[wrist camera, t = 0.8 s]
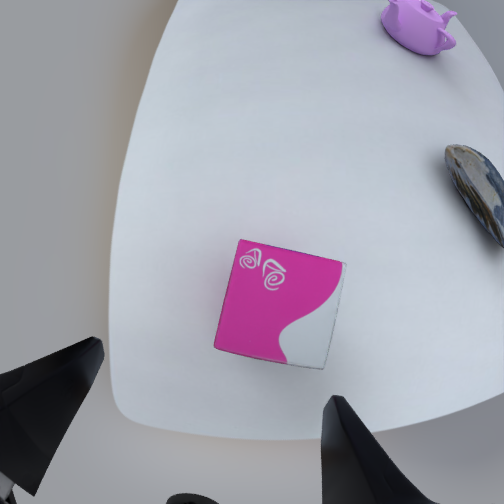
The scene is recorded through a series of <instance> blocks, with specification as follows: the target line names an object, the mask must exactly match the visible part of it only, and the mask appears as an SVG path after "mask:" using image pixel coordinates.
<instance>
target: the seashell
mask: <svg viewBox="0 0 504 504" xmlns="http://www.w3.org/2000/svg"><path fill="white" fill-rule="evenodd" d="M445 161H446V165H447V167H448V170H449V173H450V175H451V178H452V180H453V182H454V184H455V186H456V188H457V189H458V191H459V192H460V193H461V195H462V197H463V198H464V200H465V201H466V203H467V205H468V206H469V208H470V209H471V211H472V212H473V214H474V215H475V216H476V217H477V218H478V220H479V221H480V222H481V224H482V225H483V226H484V227H485V229H486V230H487V231H488V232H489V233H490V234H492V236H493V237H494V239H495V240H496V241H497V242H498V243H499V244H500V245H501V246H502V247H503V248H504V180H503V179H502V177H501V175H500V174H499V172H498V171H497V170H496V168H495V167H494V166H493V164H492V163H491V162H490V161H489V159H487V158H486V157H485V156H484V155H482V154H481V153H480V152H478V151H476V150H474V149H472V148H470V147H468V146H464V145H463V146H462V145H448V146H447V147H446V149H445Z"/></svg>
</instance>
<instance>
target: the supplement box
mask: <svg viewBox="0 0 504 504" xmlns="http://www.w3.org/2000/svg"><path fill="white" fill-rule="evenodd" d="M345 270H346V263H344V262H340V261H336V260H332V259H327V258H323V257H319V256H314V255H310V254H306V253H301V252H297V251H292V250H288V249H283V248H278V247H274V246H270V245H265V244H261V243H256V242H252V241H247V240H243V239H240V240H239V242H238V246H237V250H236V255H235V259H234V263H233V267H232V271H231V275H230V279H229V283H228V287H227V291H226V295H225V299H224V303H223V307H222V311H221V315H220V319H219V324H218V328H217V332H216V336H215V341H214V348H216V349H218V350H221V351H225V352H229V353H233V354H237V355H242V356H246V357H250V358H255V359H260V360H265V361H270V362H276V363H281V364H287V365H293V366H299V367H306V368H313V369H324V366H325V362H326V359H327V355H328V350H329V346H330V342H331V338H332V334H333V329H334V325H335V320H336V315H337V311H338V305H339V300H340V295H341V290H342V285H343V280H344V275H345Z"/></svg>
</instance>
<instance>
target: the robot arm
mask: <svg viewBox="0 0 504 504" xmlns="http://www.w3.org/2000/svg"><path fill="white" fill-rule="evenodd" d="M103 360H104V349H103V344H102V341H101V340H100V339H99V338H96V337H89V338H87V339H85V340H82V341H80V342H78V343H75V344H73V345H71V346H68V347H66V348H64V349H62V350H59V351H57V352H54V353H52V354H50V355H48V356H46V357H43V358H40V359H38V360H36V361H33V362H32V363H28V364H26V365H25V366H21V367H19V368H16V369H14V370H11V371H9V372H6V373H3V374H0V504H17V503H16V500H15V497H14V494H13V491H12V488H13V486H14V484H15V483H16V484H17V485H18V486H20V487H21V488H22V489H24V490H25V491H26V492H28V493H29V494H31V495H32V496H35V494H36V492H37V490H38V488H39V485H40V483H41V481H42V479H43V477H44V475H45V473H46V470H47V468H48V466H49V464H50V462H51V460H52V458H53V456H54V454H55V452H56V450H57V448H58V446H59V444H60V442H61V440H62V439H63V437H64V435H65V433H66V431H67V429H68V427H69V425H70V424H71V422H72V420H73V418H74V416H75V415H76V413H77V411H78V409H79V408H80V406H81V404H82V402H83V400H84V399H85V397H86V395H87V393H88V392H89V390H90V388H91V386H92V384H93V382H94V380H95V377H96V375H97V373H98V370H99V369H100V366H101V364H102V362H103ZM321 462H322V463H321V464H322V504H439V503H435V502H433V501H431V500H429V499H428V498H427V497H425V496H424V495H423V494H422V493H421V492H420V491H419V490H418V489H417V488H416V487H415V486H414V485H413V484H412V483H411V482H410V481H409V480H408V479H407V478H406V477H405V475H404V474H403V473H402V472H401V471H400V470H399V469H398V467H397V466H396V465H395V464H394V463H393V461H392V460H391V459H390V458H389V456H388V455H387V454H386V452H385V451H384V450H383V448H382V447H381V446H380V444H379V443H378V442H377V440H376V439H375V438H374V436H373V435H372V434H371V433H370V431H369V430H368V429H367V427H366V426H365V425H364V423H363V422H362V421H361V419H360V418H359V417H358V415H357V414H356V413H355V411H354V410H353V409H352V407H351V406H350V405H349V403H348V402H347V401H346V399H345V398H344V397H343V396H339V395H333V396H331V398H330V399H329V401H328V403H327V404H326V406H325V407H324V410H323V421H322V436H321ZM184 504H196V503H194V502H191V501H190V502H187V503H184Z"/></svg>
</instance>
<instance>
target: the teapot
mask: <svg viewBox="0 0 504 504" xmlns="http://www.w3.org/2000/svg"><path fill="white" fill-rule="evenodd" d="M388 1H389V2H390V5H388V6H387V7H386V8H385V9H384V11H383V12H382V14H381V20H382V23H383V25H384V27H385V29H386V31H387V32H388V33H389V34H390V35H391V36H392V37H393V38H394V39H395V40H396V41H397V42H399V43H400V44H401V45H403V46H404V47H406V48H408V49H410V50H411V51H414V52H416V53H419V54H422V55H436V54H438V53H440V52H441V51H442V50H448V49H451V48H453V47H454V46H455V45H456V41H455V39H454V38H453V37H452V36H451V35H450V34H449V33H448V32H446V31H445V28H446V26H447V24H448V22H449V20H450V18H451V17H452V16H454V15H456V14H457V13H456V12H454V11H447V12H445V13H444V14H442V15H441V16H440V15H439V14H438V13H437V12H436V11H435V10H434V7H433V6H432V5H431V4H430V3H428V2H427V1H424V0H421V1H419V0H388ZM445 37H446V38H447V41H446V42H445ZM444 42H445V43H444Z"/></svg>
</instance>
